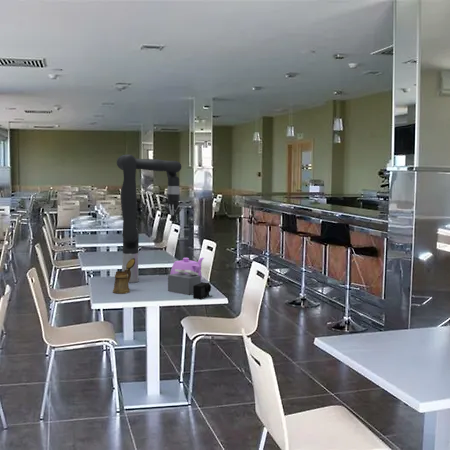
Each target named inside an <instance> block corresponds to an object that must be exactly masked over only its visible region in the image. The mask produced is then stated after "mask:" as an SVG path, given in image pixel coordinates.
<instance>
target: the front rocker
mask: <svg viewBox="0 0 450 450" xmlns="http://www.w3.org/2000/svg"><path fill="white" fill-rule="evenodd" d="M185 272H187V273H188V274H189V275H198V273H196V272H194V271H191V270H185Z"/></svg>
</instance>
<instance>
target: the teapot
mask: <svg viewBox="0 0 450 450" xmlns="http://www.w3.org/2000/svg"><path fill="white" fill-rule="evenodd" d="M204 259H205V257H200V258H199V259H198V261H195V260H191V259H190V258H189V257H183V258H182V260H175V261H174V262H173V264H172V267H171V270H170V273H169V275H171V274H176V273H178V272H177V271H175V269H179V270H191V271H194V272H196V273H198V276H201V279H203V277H202V262H203V260H204ZM185 274H188V273H185Z"/></svg>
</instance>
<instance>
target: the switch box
mask: <svg viewBox="0 0 450 450" xmlns="http://www.w3.org/2000/svg"><path fill="white" fill-rule="evenodd" d="M201 280H202V278H201V276H198V275H189V274H185V273H184V274H183V273H176V274H171V275H170V274H167V291H168V292H170V293H171V292H172V293H176V294H182V295H187V296H188V295H189V296H191V295H193V286H194V285H197V284H199V283H202V282H201Z"/></svg>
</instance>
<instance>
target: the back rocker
mask: <svg viewBox="0 0 450 450" xmlns="http://www.w3.org/2000/svg"><path fill="white" fill-rule="evenodd" d="M175 271H177V272H178V273H183V274H184V273H187V272H185V270H179V269H175Z"/></svg>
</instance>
